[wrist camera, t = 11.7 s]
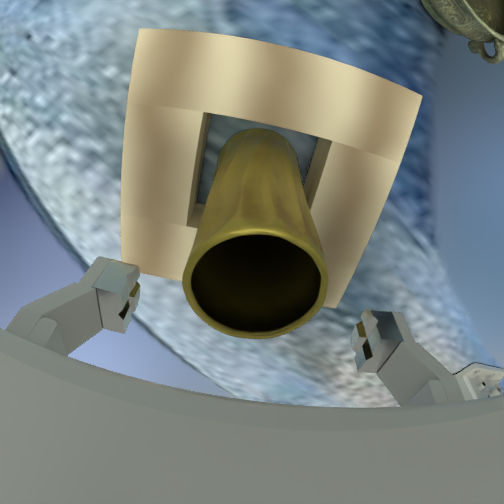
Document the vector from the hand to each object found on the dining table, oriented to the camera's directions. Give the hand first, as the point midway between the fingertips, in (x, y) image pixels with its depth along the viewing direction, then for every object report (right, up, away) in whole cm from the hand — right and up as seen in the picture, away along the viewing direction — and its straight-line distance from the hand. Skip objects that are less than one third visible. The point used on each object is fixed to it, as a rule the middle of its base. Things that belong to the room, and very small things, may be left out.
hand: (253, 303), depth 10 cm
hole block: (0, +8, +12) cm, 15 cm away
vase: (0, +8, +12) cm, 15 cm away
